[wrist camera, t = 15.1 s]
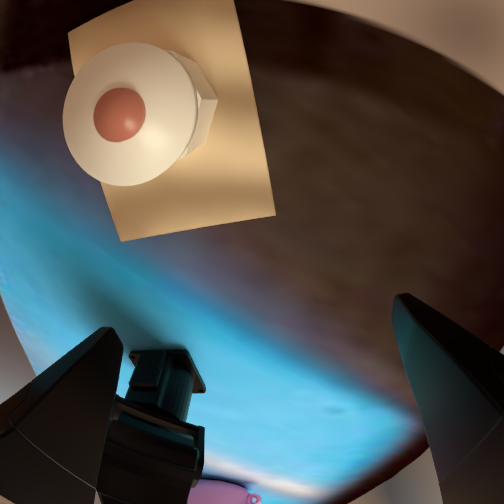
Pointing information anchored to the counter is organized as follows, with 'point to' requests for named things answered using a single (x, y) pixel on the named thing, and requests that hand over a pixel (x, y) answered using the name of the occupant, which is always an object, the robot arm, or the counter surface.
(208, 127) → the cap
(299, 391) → the counter surface
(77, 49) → the stud block
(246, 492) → the teapot
